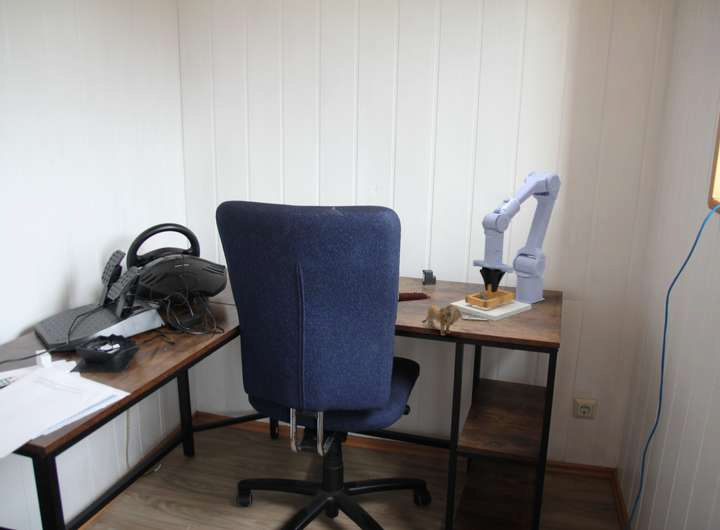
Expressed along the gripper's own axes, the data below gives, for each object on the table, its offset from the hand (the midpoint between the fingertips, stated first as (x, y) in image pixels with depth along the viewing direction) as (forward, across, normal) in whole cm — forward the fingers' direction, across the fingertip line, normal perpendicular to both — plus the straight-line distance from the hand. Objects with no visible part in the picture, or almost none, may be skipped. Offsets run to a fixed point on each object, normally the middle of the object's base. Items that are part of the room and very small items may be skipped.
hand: (491, 290), depth 176 cm
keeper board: (+6, 0, 0) cm, 6 cm away
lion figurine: (+6, +4, -29) cm, 30 cm away
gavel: (+7, -26, -15) cm, 30 cm away
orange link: (+3, 0, 0) cm, 3 cm away
